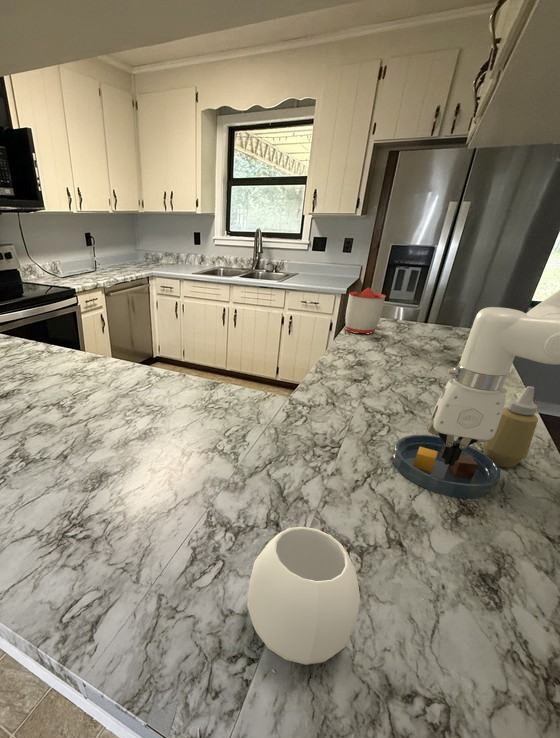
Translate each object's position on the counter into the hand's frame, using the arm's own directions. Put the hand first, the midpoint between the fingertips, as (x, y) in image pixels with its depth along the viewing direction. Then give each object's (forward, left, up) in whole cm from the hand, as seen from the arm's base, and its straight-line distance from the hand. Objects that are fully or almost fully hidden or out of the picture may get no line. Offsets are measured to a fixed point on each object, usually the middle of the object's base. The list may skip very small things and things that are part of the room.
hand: (447, 461), depth 81 cm
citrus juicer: (+15, -118, -4) cm, 119 cm away
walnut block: (-4, -2, -4) cm, 6 cm away
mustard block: (+3, -2, -4) cm, 5 cm away
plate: (0, -2, -4) cm, 5 cm away
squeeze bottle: (-13, -11, -4) cm, 18 cm away
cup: (+25, +45, -4) cm, 51 cm away
